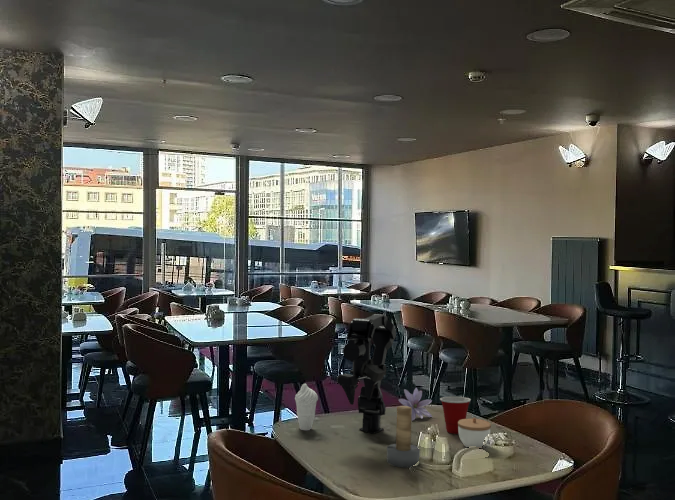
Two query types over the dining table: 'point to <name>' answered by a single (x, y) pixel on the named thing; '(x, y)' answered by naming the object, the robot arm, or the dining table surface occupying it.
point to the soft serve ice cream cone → (306, 407)
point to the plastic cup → (454, 411)
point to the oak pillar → (403, 428)
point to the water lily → (413, 402)
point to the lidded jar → (473, 431)
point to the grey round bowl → (402, 456)
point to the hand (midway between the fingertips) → (360, 401)
